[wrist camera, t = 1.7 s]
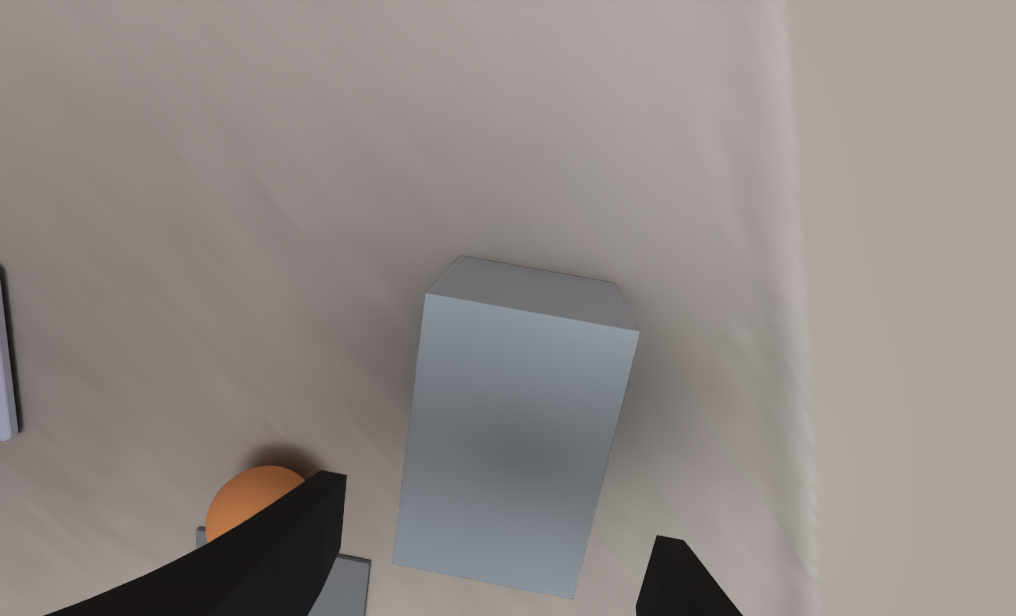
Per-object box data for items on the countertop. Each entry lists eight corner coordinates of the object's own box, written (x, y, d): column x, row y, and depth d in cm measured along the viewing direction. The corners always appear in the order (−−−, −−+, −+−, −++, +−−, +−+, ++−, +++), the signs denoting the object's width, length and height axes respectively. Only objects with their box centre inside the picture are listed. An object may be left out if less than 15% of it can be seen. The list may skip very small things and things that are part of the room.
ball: (242, 516, 23) (181, 586, 20) (244, 439, 22) (180, 497, 18) (329, 533, 23) (285, 608, 19) (335, 456, 22) (289, 518, 18)
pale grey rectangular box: (431, 464, 22) (392, 563, 17) (460, 255, 19) (425, 293, 14) (567, 490, 22) (572, 599, 16) (615, 283, 19) (639, 331, 14)
